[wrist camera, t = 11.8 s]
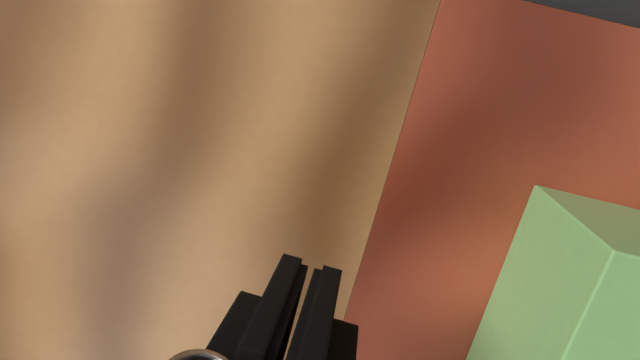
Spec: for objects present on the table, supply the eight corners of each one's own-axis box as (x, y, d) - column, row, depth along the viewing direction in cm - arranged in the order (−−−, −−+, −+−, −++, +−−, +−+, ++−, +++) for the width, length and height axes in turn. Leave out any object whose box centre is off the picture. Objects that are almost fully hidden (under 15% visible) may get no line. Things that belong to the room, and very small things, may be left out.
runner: (1025, 123, 11) (1037, 124, 11) (678, 578, 16) (681, 584, 16) (-61, -141, 12) (-69, -144, 12) (-46, 355, 18) (-51, 359, 18)
